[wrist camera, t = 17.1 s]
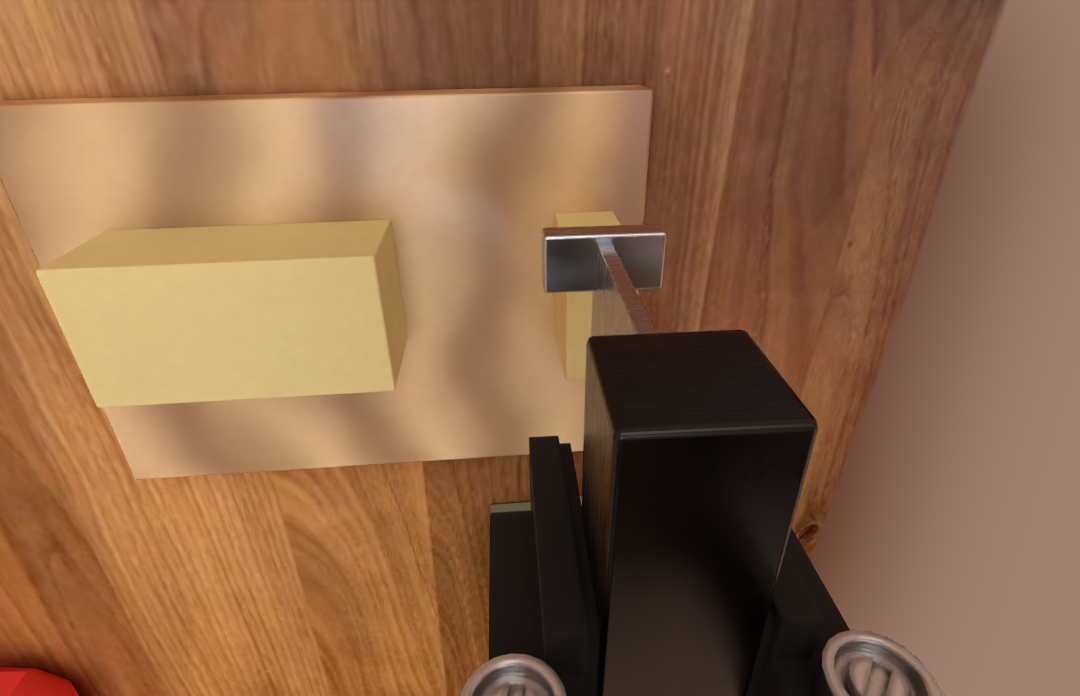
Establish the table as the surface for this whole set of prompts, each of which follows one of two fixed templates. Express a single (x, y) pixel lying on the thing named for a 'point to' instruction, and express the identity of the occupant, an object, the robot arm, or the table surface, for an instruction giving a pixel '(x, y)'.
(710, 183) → the table surface
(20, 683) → the apple
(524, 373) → the board
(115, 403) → the butter stick
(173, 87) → the table surface
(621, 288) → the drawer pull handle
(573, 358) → the butter slice
